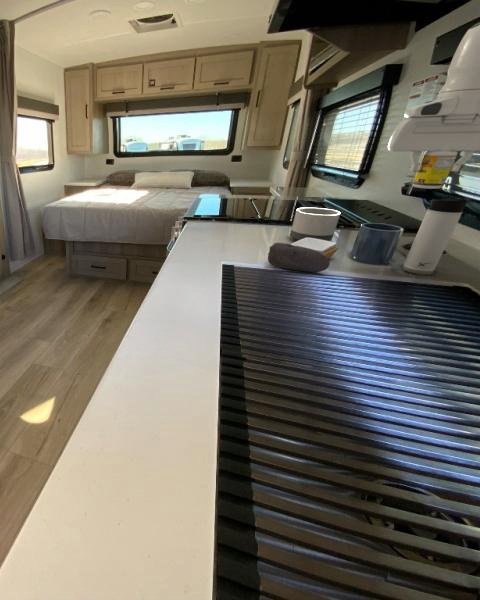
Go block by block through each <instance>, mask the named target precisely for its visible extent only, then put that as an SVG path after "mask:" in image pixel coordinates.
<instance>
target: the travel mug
mask: <svg viewBox="0 0 480 600" xmlns="http://www.w3.org/2000/svg"><path fill="white" fill-rule="evenodd" d="M470 201H471V198H437V199H434V198H433V199H432V200H431V201H430V206H429V207H428V208H427V211H426V212H425V215H424V217H423V219H422V222H421V224H420V227H419V229H418V231H417V233H416V235H415V237H414V240H413V242H412V245H411V247H410V249H409V251H408V253H407V256H406V259H405V260H404V263H403V264H402V267H401V268H402V270H403V271H404V272H407V273H409V274H415V275H421V276H431V275H433V274H434V272H435V270H436V268H437V265H438V264H439V262H440V259H441V257H442V255H443V253H444V251H445V249H446V247H447V245H448V243H449V241H450V239H451V237H452V235H453V233H454V231H455V229H456V227H457V224H458V222H459V220H460V218H461V216H462V214H463V212H464V209H465V207H466V205H467V203H469V202H470Z"/></svg>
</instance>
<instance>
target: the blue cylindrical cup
mask: <svg viewBox="0 0 480 600" xmlns="http://www.w3.org/2000/svg"><path fill="white" fill-rule="evenodd" d="M404 230H405V228H403V227H401V226H398V225H394V224H386V223H379V222H364V223H361V224H360V227H359V229H358V232H357V234H356V238H355V240H354V243H353V245H352V248H351V252H350V255H349V257H350V259H352V260H354V261H356V262H359V263H364V264H368V265H379V266H383V265H389V264H390V263H391V261H392V259H393V257H394V254H395V251H396V249H397V247H398V244H399V242H400V241H401V237H402V235H403V233H404Z"/></svg>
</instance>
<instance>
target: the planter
mask: <svg viewBox="0 0 480 600" xmlns="http://www.w3.org/2000/svg"><path fill="white" fill-rule="evenodd" d="M341 213H342V212H340V211H338V210H335V209H329V208H321V207H299V208H297V209H296V210H295V214H294V217H293V221H292V225H291V229H290V233H289V236H290V237H291V238H292V239H294V240H296V241H299V240H301V239H304V238H307V237H308V238H315V239H320V240H326V241H331V242H332V240H333V238H334V236H335V231H336V229H337V226H338V223H339V220H340V216H341Z"/></svg>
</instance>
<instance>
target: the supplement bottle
mask: <svg viewBox="0 0 480 600" xmlns="http://www.w3.org/2000/svg"><path fill="white" fill-rule="evenodd" d="M453 144H454V142H444V143H443V145H442V147H441V149H440V150H441V151H425V152H424V155H423V157H422V160H421V162H420V164H423V165H422V167H421V170H420V171H419V172H416V175H415V177H414V179H413V181H412V186H413V188H418V189H429V190H432V189H433V190H434V189H435V190H436V189H441V188H442V187H444V185H445V183H446V181H447V178H448V176H449V174H450V173H451V172H450V170H451V167H452V165H453V164H454V163H455V162H456V159H457V156H458V151H450V150H451V149H452V147H453Z"/></svg>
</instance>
